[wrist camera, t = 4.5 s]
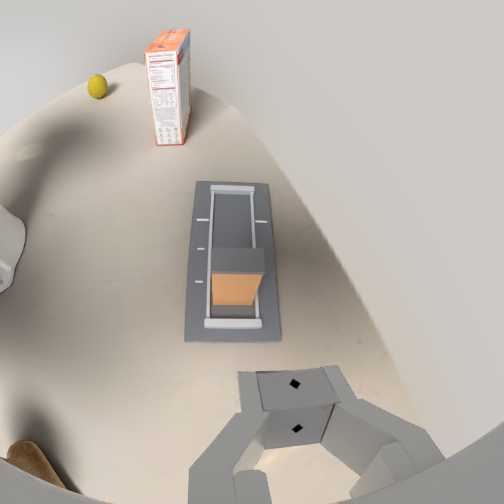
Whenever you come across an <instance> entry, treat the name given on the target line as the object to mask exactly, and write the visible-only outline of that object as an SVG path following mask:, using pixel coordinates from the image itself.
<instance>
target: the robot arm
mask: <svg viewBox="0 0 504 504" xmlns="http://www.w3.org/2000/svg"><path fill="white" fill-rule="evenodd" d="M24 243H25V226H24V224H23V222H22V221H21V220H20V219H19V218H17V217H16V216H14V215H12V214H11V213H10V212H8V211H7V210H6V209H5V208H4V207H3V206H2V205H1V204H0V293H1V292H2V291H4V290H5V289H7V288H8V287H10V285H11V284H12V281H13V276H14V270H15V267H16V264H17V262H18V260H19V258H20V256H21V253H22V250H23V247H24ZM315 443H320V444H321V445H322V446H323V447H324V448H325V449H327V450H328V451H329V452H330V453H332V454H333V455H334V456H335V457H336V458H338V459H339V460H340V461H342V462H343V463H344V464H345V465H347V466H348V467H349V468H350V469H352V470H353V471H354V472H356V473H357V474H358V475H360V476H361V477H360V478H359V479H358V481H357V482H356V483H355V485H354V486H353V487H352V488H351V490H350V491H349V492H350V495H351V497H352V498H350V499H347V500H343V501H339V502H336V503H331V504H504V421H503V422H502V423H501V424H499V425H498V426H497V427H495V428H494V429H492V430H491V431H490V432H488V433H487V434H485V435H484V436H483V437H481V438H480V439H478V440H477V441H475V442H474V443H472V444H471V445H469V446H467V447H466V448H464V449H463V450H461V451H459V452H458V453H456V454H454V455H453V456H451V457H449V458H447V459H445V457H444V456H443V455H442V453H441V452H440V450H439V449H438V447H437V446H436V445H435V443H434V442H433V440H432V439H431V437H430V436H429V434H428V433H427V432H426V430H425V429H423V428H420V427H418V426H416V425H414V424H412V423H410V422H408V421H405V420H403V419H401V418H399V417H397V416H395V415H393V414H391V413H389V412H387V411H385V410H383V409H381V408H379V407H377V406H375V405H373V404H371V403H369V402H368V401H366V400H364V399H357V397H356V396H355V394H354V392H353V391H352V389H351V387H350V386H349V384H348V382H347V380H346V379H345V377H344V375H343V374H342V372H341V370H340V369H339V367H338V366H336V365H333V366H326V367H320V368H311V369H300V370H286V371H255V372H237V377H236V413H235V414H234V416H233V417H232V418H231V420H230V421H229V422H228V423H227V425H226V426H225V427H224V428H223V430H222V431H221V432H220V433H219V434H218V436H217V437H216V438H215V439H214V440H213V442H212V443H211V444H210V445H209V446H208V448H207V449H206V450H205V451H204V452H203V453H202V455H201V456H200V457H199V458H198V459H197V460H196V461H195V463H194V464H193V465H192V466H191V467H190V468H189V486H188V504H272V502H271V497H270V492H269V487H268V482H267V477H266V473H264V472H262V471H260V470H253V469H254V467H255V466H256V464H257V462H258V460H259V459H260V457H261V455H262V453H263V451H264V450H265V449H275V448H283V447H290V446H299V445H308V444H315ZM0 504H112V503H108V502H104V501H101V500H97V499H94V498H90V497H87V496H84V495H81V494H78V493H75V492H72V491H69V490H66V489H64V488H61V487H58V486H56V485H53V484H51V483H49V482H46V481H44V480H42V479H39V478H37V477H35V476H33V475H31V474H29V473H27V472H25V471H23V470H21V469H19V468H17V467H15V466H13V465H11V464H9V463H7V462H6V461H4V460H2V459H0Z"/></svg>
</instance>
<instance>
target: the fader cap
mask: <svg viewBox="0 0 504 504" xmlns="http://www.w3.org/2000/svg"><path fill="white" fill-rule="evenodd" d="M210 273H211V274H212V296H213V305H252V303H253V301H254V298H255V295H256V292H257V290H258V287H259V284H260V281H261V278H262V276H263V275H264V274H265V262H264V248H223V247H211V268H210Z"/></svg>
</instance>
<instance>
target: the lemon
mask: <svg viewBox="0 0 504 504" xmlns="http://www.w3.org/2000/svg"><path fill="white" fill-rule="evenodd" d="M106 91H107V81H106V79H105V78H104V77H103V76H102V75H96V74H95V75H94V76H93V77H92V78H91V79H90V80H89V82H88V92H89V94H90V95H91V96H92V97H93V98H99V99H100V98H101V97H102V96H103V95H104V94H105V93H106Z"/></svg>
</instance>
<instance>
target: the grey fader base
mask: <svg viewBox="0 0 504 504" xmlns="http://www.w3.org/2000/svg"><path fill="white" fill-rule="evenodd" d="M211 247H223V248H264V262H265V274H264V275H263V276H262V278H261V281H260V284H259V287H258V290H257V292H256V295H255V298H254V301H253V303H252V305H213V296H212V274H211V273H210V268H211ZM184 341H185V342H202V343H266V342H280V341H281V336H280V321H279V308H278V294H277V282H276V269H275V257H274V246H273V234H272V223H271V213H270V202H269V192H268V184H261V183H241V182H211V181H196V190H195V198H194V207H193V217H192V227H191V238H190V250H189V262H188V276H187V293H186V312H185V340H184Z"/></svg>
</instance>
